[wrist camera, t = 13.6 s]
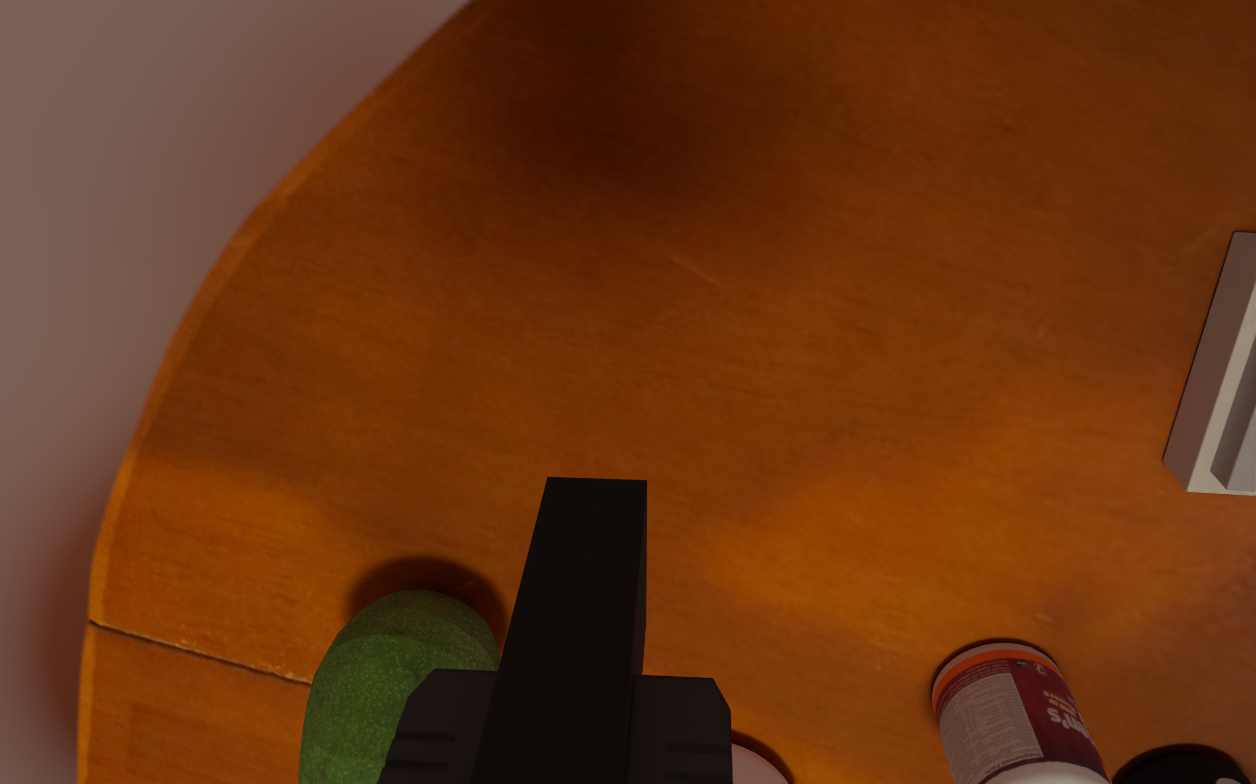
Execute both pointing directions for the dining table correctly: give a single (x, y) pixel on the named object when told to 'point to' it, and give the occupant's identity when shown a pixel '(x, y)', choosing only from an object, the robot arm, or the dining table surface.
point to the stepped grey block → (1222, 388)
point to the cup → (753, 768)
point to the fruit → (384, 679)
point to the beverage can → (1185, 770)
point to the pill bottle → (1012, 720)
